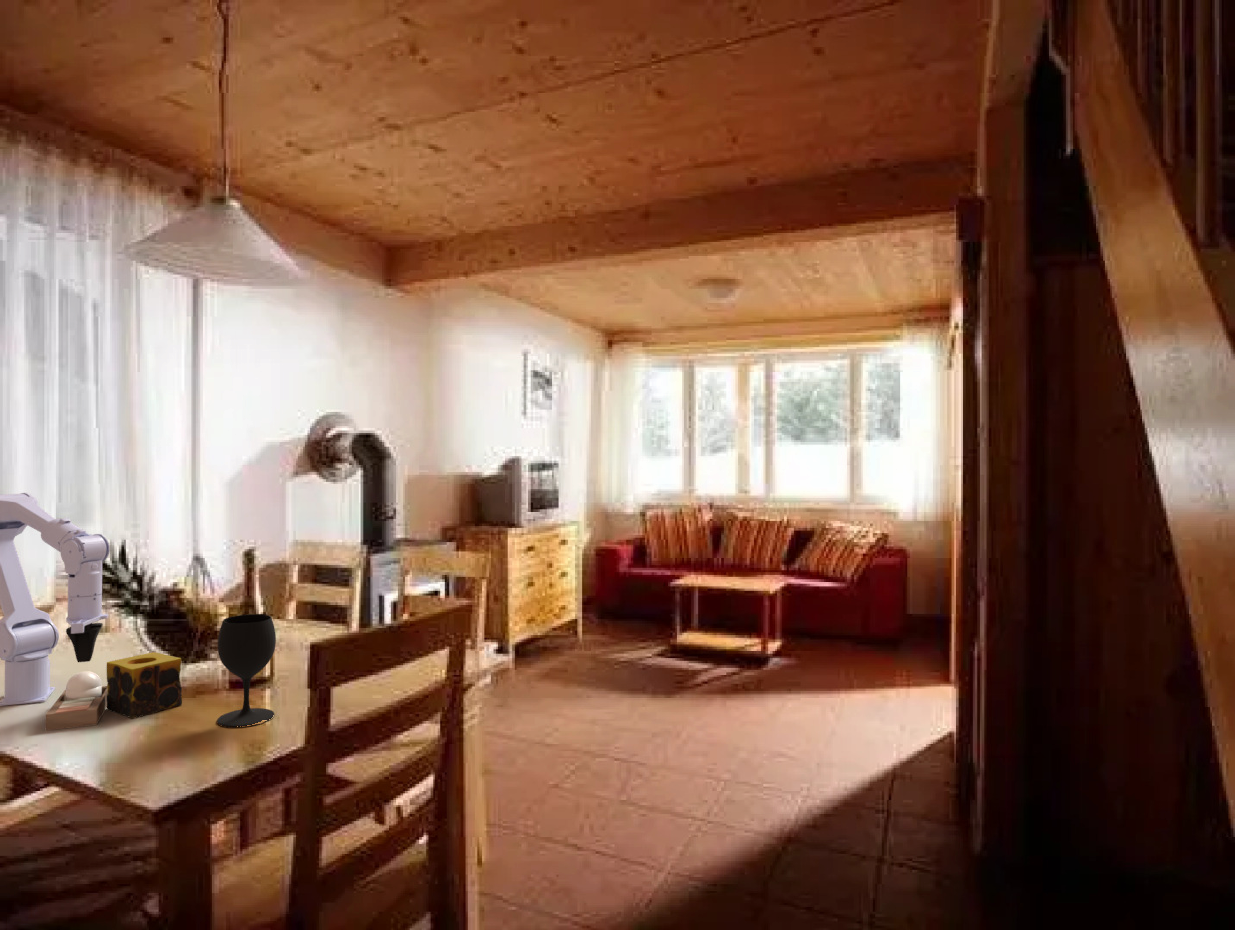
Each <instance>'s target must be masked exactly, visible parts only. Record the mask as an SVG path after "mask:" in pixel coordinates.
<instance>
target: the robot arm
mask: <svg viewBox="0 0 1235 930" xmlns="http://www.w3.org/2000/svg"><path fill="white" fill-rule="evenodd" d="M71 521H72V520H71V519H70V518H69V517H65V518H64V517H63V518H54V517H53V516H52V515H50V514H49V513H48V512H47V511H45V509H43V508H42V507H41V506H39V504H38V500H37V498H36V497H34V496H32V494H30V493H28V492H21V493H6V494H5V493H3V494H0V608H1V611H2V614H3V617H1V619H0V660H1V661H4V697H3V698H2V699H1V700H0V707H1V706H12V705H22V704H23V705H25V704H30V703H31V704H32V703H41V702H46V700H47V699H48V698H49V697H50V696H51V694H52V693H53V692H54V691H55V690H56V686H51V662H50V661H51V660H50V658H49V655H52V653H53V649H55V648H56V646H57V645H58V642H59V640H60V633H59V630H58V628H57V627H58V626H56V625H55V623H54V622H53V621H52V619H51V616H50V613H48V612H46V611H43V610H40V609H39V608H37V607H35V605H34V601H33V598H32V595H31V592H30V589H29V585H28V582H27V579H26V576H25V572H24V570H23V567H22V564H21V561H20V557H19V554H18V551H17V548H16V546H15V541H14V540H15V537H17V536H19V535H20V534H22V533H23V532H24V531H25V530H26V527H27V526H28V527H29V528H31V529H34V530H35V531H37V532H40V538H41V540H42V541H43V542H44V543H46V544H47V545H49V546H50V547H51V548H52V549H54V550H56V551H58V552H59V553H60V556H61V560H62V562H63V565H64V571H65V574H67V616H66V619H65V621H66V623H68V624H69V625H70V626H69V627H67V628H66V629H65V632H66V635H67V637H68V638H69V639H70V641H71V643H72V646H73V650H74V654H75V658H76V661H77V663H85V662H87V663H88V662H90V661H92V658H93V655H94V650H95V645H96V641H97V639H98V635H99V633H100V631H101V629H102V627H103V626H104V624H103V622H98V621H101V620H108V618H109V616H110V615H109V613H103V611H102V609H103V607H102V606H103V562H105V561H106V560H107V559H108V557H109V555H110V543H109V541H108V539H107V538H106V537H105V536H104V534H102V533H95V534H91V533H90V534H89V533H88V532H87V531H86V530H85V529H83V528H80V527H78V526H76V524H74V523H72V522H71Z"/></svg>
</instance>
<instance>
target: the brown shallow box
mask: <svg viewBox="0 0 1235 930" xmlns="http://www.w3.org/2000/svg"><path fill="white" fill-rule="evenodd" d="M107 694H108V689H107V685H104V686H103V685H102V697H98V698H95V697H91V698H81V699H70V700H66V689H64V691H63V692H62V693H61V695H60V696H59V697H58V698H57V700H56V701H55V702H54V703H53V705H52V706H51V707H50V709H49V710H48V711H47V712H46V713H45V730H44V731H52V730H53V731H54V730H60V729H62V730H63V729H69V728H70V729H71V728H78V727H87V726H89V727H90V726H97V724H98V723H99V721H100V719H101V718H102V716H103V714H104V712H105V711H106V709H107Z"/></svg>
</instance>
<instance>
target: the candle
mask: <svg viewBox="0 0 1235 930" xmlns="http://www.w3.org/2000/svg"><path fill="white" fill-rule="evenodd" d="M181 666H182V658H181V657H176V656H172V655H169V654H165V653H161V652H156V651H153V652H148V653H143V654H142V653H141V654H138V655H133V656H129V657H124V658H120V659H115V660H110V661H107V662H106V682H107V684H106V686H107V689H108V694H107V707H106V709H107V710H108V711H111V712H114V713H115V714H118V715H119V714H120V715H122V716H125V717H126V718H130V719H134V718H135V717H136V718H139V716H140V717H143V716H146V714H147V715H150V714H153V713H158V712H161V711H163V710H166V709H165V708H167V709H172V708H176V707H179V705H180V706H182V704H183V700H182V699H183V698H182V691H183V688H182V684H181V683H182V682H181V677H180V676H181V674H180V673H181V670H182V667H181ZM175 706H176V707H175ZM171 707H172V708H171ZM142 715H143V716H142Z"/></svg>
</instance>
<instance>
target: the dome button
mask: <svg viewBox="0 0 1235 930" xmlns="http://www.w3.org/2000/svg"><path fill="white" fill-rule="evenodd" d="M102 687H103V683H102V678H101V677H100V676H99V675H98V674H97V673H95V672H93V671H89V670H84V671H83V670H82V671H79V672H77V673H75V674H73V675H71V677H70V678H69V679H68V681H67V682H66V684H65V690H66V700H70V699H81V698H91V697H95V698H98V697H102Z"/></svg>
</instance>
